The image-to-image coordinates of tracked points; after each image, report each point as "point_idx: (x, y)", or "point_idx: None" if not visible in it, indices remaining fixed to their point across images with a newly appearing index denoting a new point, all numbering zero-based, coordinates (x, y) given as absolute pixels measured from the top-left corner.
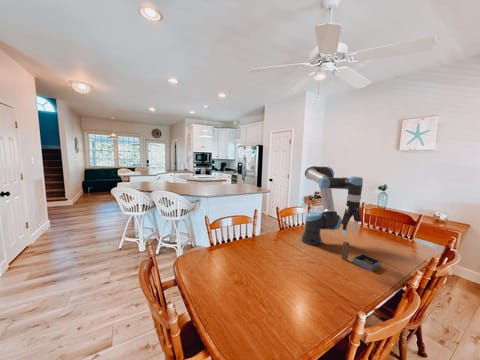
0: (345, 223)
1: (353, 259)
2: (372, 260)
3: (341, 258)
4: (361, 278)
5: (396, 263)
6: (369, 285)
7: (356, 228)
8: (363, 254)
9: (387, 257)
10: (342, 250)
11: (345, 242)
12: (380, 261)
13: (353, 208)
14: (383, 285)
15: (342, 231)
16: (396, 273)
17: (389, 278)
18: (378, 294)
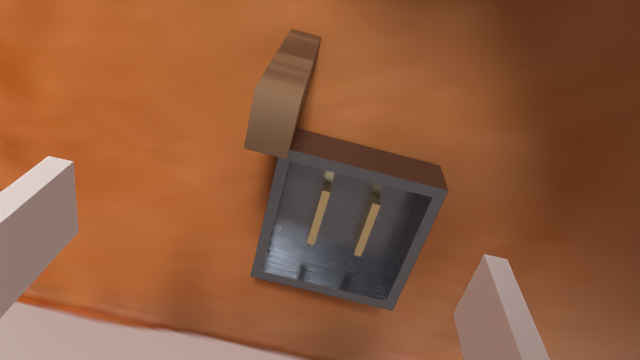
0: None
1: None
2: (401, 252)
3: (290, 31)
4: (116, 211)
5: None
6: (83, 253)
7: (469, 350)
8: (433, 202)
9: (613, 299)
10: (277, 54)
11: (254, 118)
12: (385, 306)
13: None
14: (156, 301)
15: (13, 186)
16: (367, 341)
17: (266, 318)
18: (44, 290)
